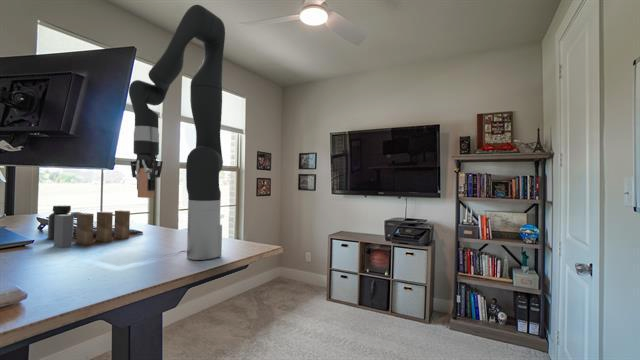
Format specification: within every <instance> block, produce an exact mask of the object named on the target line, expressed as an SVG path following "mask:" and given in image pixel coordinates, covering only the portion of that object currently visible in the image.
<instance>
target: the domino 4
mask: <svg viewBox="0 0 640 360" xmlns="http://www.w3.org/2000/svg"><path fill="white" fill-rule="evenodd" d="M148 169H149V170H152V168H148ZM151 174H152V173H151ZM148 180H149V179H148V177H147V173H145V170H144V168H140V171H139V174H138V190H137V198H143V199H144V198H145V199H151V198H152V199H153V198H154V197H155V190H154V191H148Z"/></svg>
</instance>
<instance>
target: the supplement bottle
mask: <svg viewBox="0 0 640 360" xmlns="http://www.w3.org/2000/svg"><path fill="white" fill-rule="evenodd" d="M71 211H72V205H53V206H52V213H51V214H49V216H48V219H47V240H51V241H54V224H55V215H72V238H74V226H75V225H74V222H75V215H74V214H73V213H71Z"/></svg>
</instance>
